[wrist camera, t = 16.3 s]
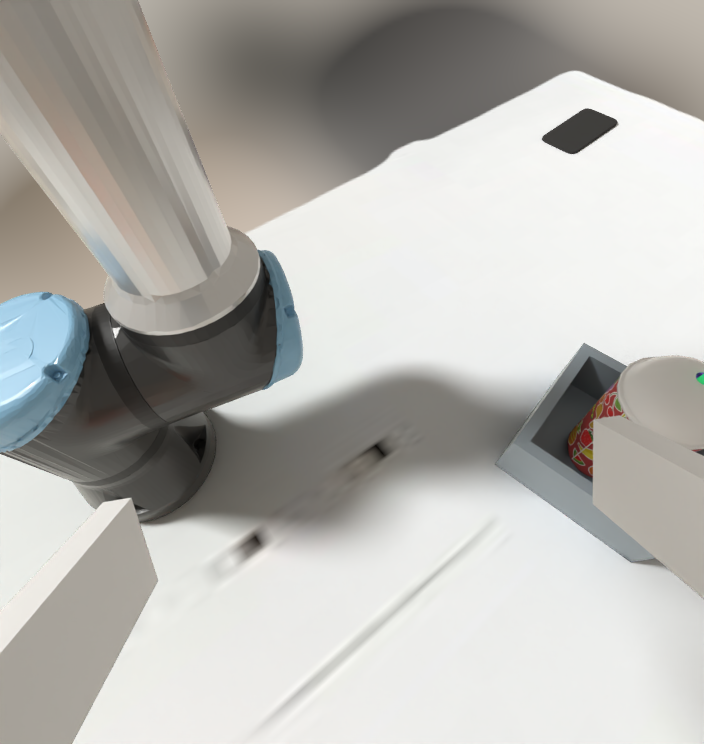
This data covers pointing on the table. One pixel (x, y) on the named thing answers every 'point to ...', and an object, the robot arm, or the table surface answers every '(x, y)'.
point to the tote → (550, 448)
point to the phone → (579, 131)
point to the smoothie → (649, 405)
